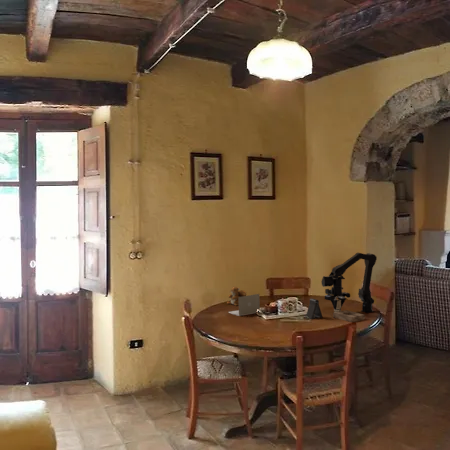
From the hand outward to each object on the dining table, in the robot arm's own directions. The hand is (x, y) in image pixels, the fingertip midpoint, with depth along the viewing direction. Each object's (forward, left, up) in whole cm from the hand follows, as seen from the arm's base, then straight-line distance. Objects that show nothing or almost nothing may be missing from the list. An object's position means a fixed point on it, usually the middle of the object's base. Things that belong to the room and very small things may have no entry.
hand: (337, 308), depth 329 cm
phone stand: (+20, -1, -3) cm, 20 cm away
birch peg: (0, 0, -3) cm, 3 cm away
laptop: (+49, -40, -4) cm, 63 cm away
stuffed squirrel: (+37, -66, -3) cm, 76 cm away
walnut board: (+4, +14, -3) cm, 15 cm away
